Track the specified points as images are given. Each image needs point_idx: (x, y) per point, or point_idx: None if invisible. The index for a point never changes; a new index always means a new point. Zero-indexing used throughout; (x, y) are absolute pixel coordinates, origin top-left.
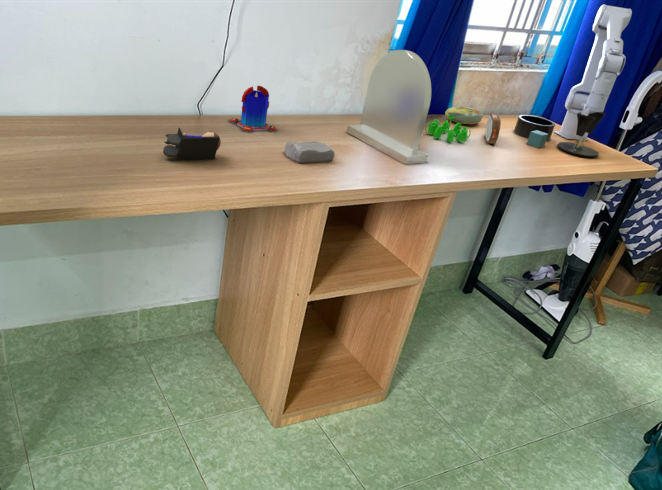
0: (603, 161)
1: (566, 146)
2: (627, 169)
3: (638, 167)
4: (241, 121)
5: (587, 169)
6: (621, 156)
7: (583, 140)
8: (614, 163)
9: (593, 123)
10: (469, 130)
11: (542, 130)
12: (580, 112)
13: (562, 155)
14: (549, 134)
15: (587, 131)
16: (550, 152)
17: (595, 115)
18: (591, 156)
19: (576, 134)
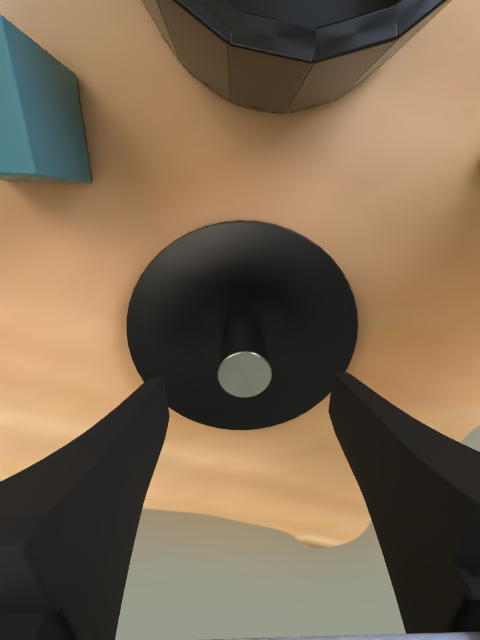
0: (233, 448)
1: (201, 290)
2: (236, 516)
3: (315, 523)
4: None
5: (30, 459)
6: None
7: (226, 390)
8: (260, 474)
9: (369, 474)
10: None
11: (170, 24)
12: (9, 565)
13: (74, 327)
14: (272, 96)
15: (335, 395)
16: (35, 268)
17: (420, 565)
18: (199, 420)
19: (145, 382)
